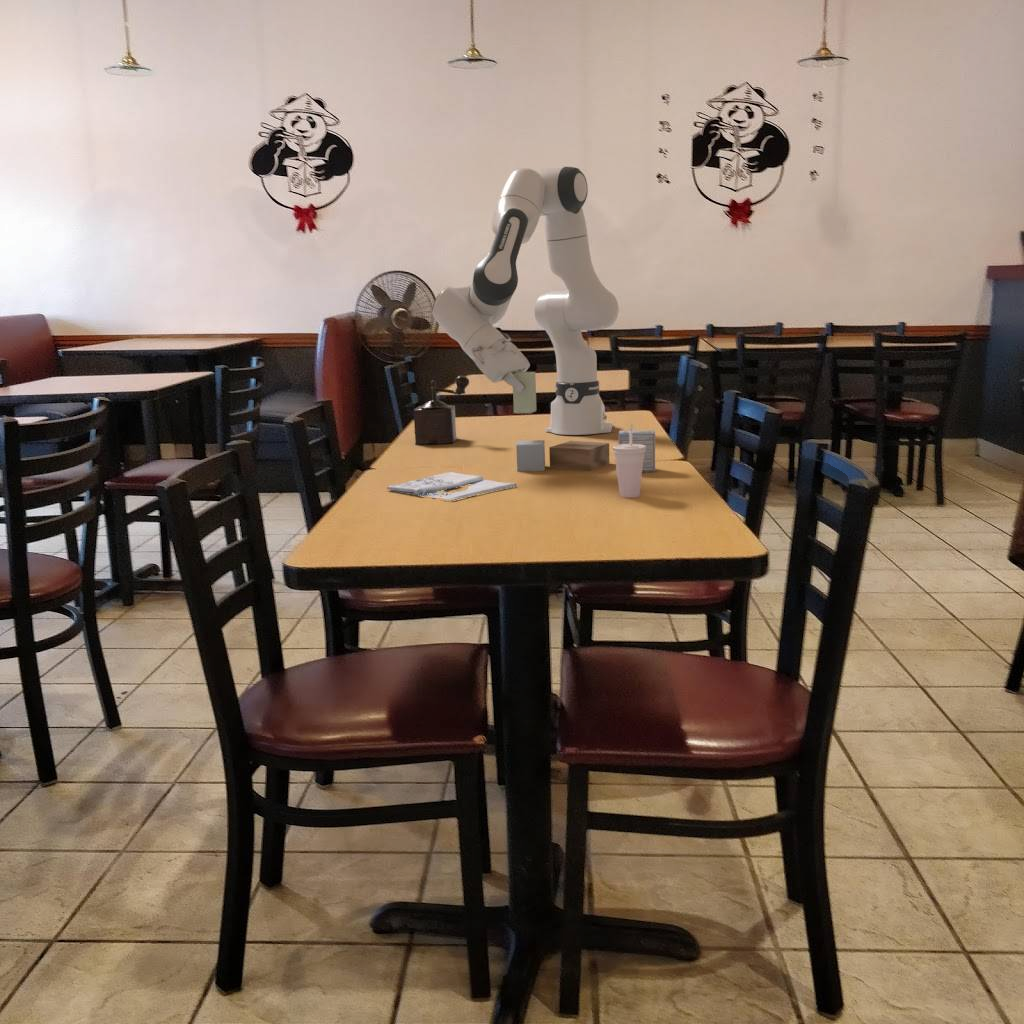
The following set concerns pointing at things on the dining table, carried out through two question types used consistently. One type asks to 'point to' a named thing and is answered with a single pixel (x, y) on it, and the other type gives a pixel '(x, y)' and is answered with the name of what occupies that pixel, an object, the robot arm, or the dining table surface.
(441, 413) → the coffee grinder
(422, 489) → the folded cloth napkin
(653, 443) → the medicine box
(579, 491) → the dining table surface
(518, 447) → the slate block
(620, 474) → the smoothie
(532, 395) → the sage pillar
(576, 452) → the walnut block
